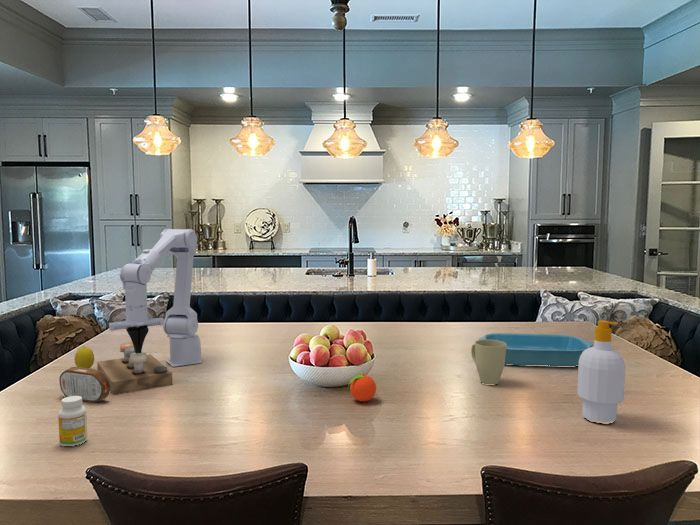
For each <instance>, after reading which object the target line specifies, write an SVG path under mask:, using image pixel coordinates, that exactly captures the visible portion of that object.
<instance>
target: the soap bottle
mask: <svg viewBox="0 0 700 525" xmlns="http://www.w3.org/2000/svg"><path fill="white" fill-rule="evenodd" d="M610 325H619V322H615V321H608V320H602V319H601V320H597V326H595V327H594V338H593V341H594V343H593V346H592V347H590V348H588V349H586V350H584V351H583V352H582V354H581V356H580V359H579V366H578V367H577V369H578V371H577V389H576V390H577V391H576V392H577V396H578V397H579V398H581V399H582V408H581V409H582V410H581V411H582V413H581V414H582V415H583V416H584V417H585V418H588V419H590V420H594V421H602V422H610V421H614V420H616V421H617V415H618V414H617V413H618V404H621V403H622V402H624V400H625V384H626V383H625V381H626V380H625V379H626V364H625V360H624V358H623V356H622V354H621V353H620V352H619V351H617V350H615V349H614V348H611V347H612V331H613V330H612V328H611V327H610ZM583 416H582V417H583Z"/></svg>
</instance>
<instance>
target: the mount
mask: <svg viewBox="0 0 700 525" xmlns="http://www.w3.org/2000/svg"><path fill="white" fill-rule="evenodd" d="M146 357H147V361H145V362H143V372H142V373H134V367H129V362H124V357H122V358H115V359H108V360H101V361H97V366H96V367H97V370H99V371H101V372H103V373H104V374H105V375H106V376H107V378H108V380H109V383H110V392H111V393H110V394H112V395H113V394H114V395H119V393H120V394H125V393H124V392H126V393H130V391H132V392H137V390H138V391H143V389H144V390H148V389H154V388H160V387H165V386H167V387H168V386H172V385H173V373H172V372H173V371H172V372H171V371H170V369H168V367H167V366H166V365H164V364H163V363H162V362H160V361H159V360H158V359H157V358H156V357H155V356H154V355H152V354H151V353H150V354H146Z"/></svg>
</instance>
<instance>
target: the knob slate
mask: <svg viewBox="0 0 700 525" xmlns="http://www.w3.org/2000/svg"><path fill="white" fill-rule="evenodd" d="M132 353H135V350H134V347H131V348H126V349H125V357H128V358H129V367H134V363H131V362H130V354H132Z"/></svg>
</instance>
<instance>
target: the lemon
mask: <svg viewBox="0 0 700 525" xmlns="http://www.w3.org/2000/svg"><path fill="white" fill-rule="evenodd" d="M94 363H95V353H94V351H93V350H92V348H90V347H87V346H85V345H83V346H81V347H80V348H79V349H77V351H76V352H75V354H74V364H75V367H81V368H87V369H91V368H92V367H93V365H94Z"/></svg>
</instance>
